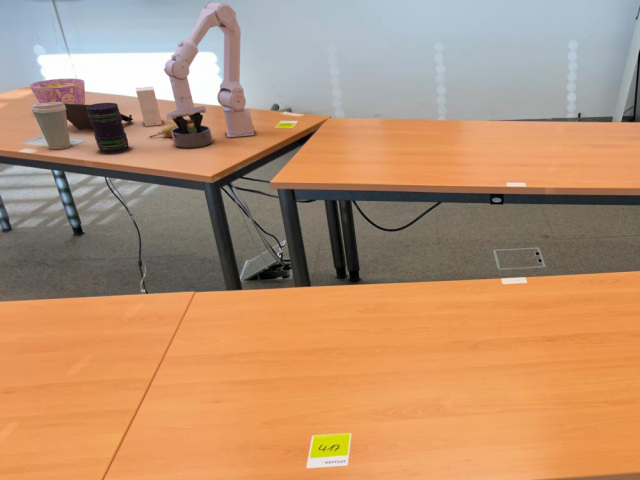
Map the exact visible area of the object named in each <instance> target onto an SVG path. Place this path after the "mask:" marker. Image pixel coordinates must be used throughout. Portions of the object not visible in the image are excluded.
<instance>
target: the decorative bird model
mask: <svg viewBox="0 0 640 480" xmlns="http://www.w3.org/2000/svg"><path fill="white" fill-rule="evenodd" d="M175 128H178V126H177V125H176V123H170V124H168V125H166V126H165V127H163V128H162V129H161V130H160V131H159V132H157V133H155V134H153V135H150V136H149V138H153V137H158V136H163V137H166V138H172V134H171V130H173V129H175Z"/></svg>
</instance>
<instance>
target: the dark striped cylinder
mask: <svg viewBox="0 0 640 480" xmlns="http://www.w3.org/2000/svg"><path fill="white" fill-rule="evenodd" d="M88 105H89V106H87V107H86V108H87V110H88V114H89V115H88V116H89V119H90V122H91V124H92V126H93V129H94V130H93V129H92V130H93V132H94V139H95V143H96V146H97V148H98V149H99V150H98V151H99V154H101V155H102V154H103V155H117V154H123V153H126V152H129V151H130V150H131V148H130V145H129V141H128V137H127V133H126V132H125V129H124V125H123V120H122V118H121V114H122V113H121V112H120V109H119V104H117V102H100V103H99V102H97V103H92V104H88Z"/></svg>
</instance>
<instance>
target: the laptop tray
mask: <svg viewBox="0 0 640 480" xmlns="http://www.w3.org/2000/svg"><path fill="white" fill-rule="evenodd" d="M64 105H65V107H66V117H67V122H69V123H70V124H71V125H72V126H73V127H75V128H76V129H77V130H79V131H80V130H93V131H94V129H93V126H92V124H91V122H90V119H89V116H88V115H89V114H88V110H87V108H86V107H87V106H89V105H90V104H64ZM120 114H121V118H122V122H126V123H132V121H133V120H134V119H133V115H132V114H129V115H125V114H123V113H120Z"/></svg>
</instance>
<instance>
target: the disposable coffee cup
mask: <svg viewBox="0 0 640 480" xmlns="http://www.w3.org/2000/svg"><path fill="white" fill-rule="evenodd" d="M30 108H31V112H32V113H33V115H34V117H35V120H36V122H37V123H38V126H39V128H40V130H41V132H42V134H43V137H44V139H45V141H46V144H47V145H48V147H49V148H50V149H51V150H61V149H62V150H63V149H68V148H70V147H71V139H70V132H69V124H68V120H67V117H66V107H65V105H64V104H63V103H62V102H50V103H35V104H32V106H31V107H30Z"/></svg>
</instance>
